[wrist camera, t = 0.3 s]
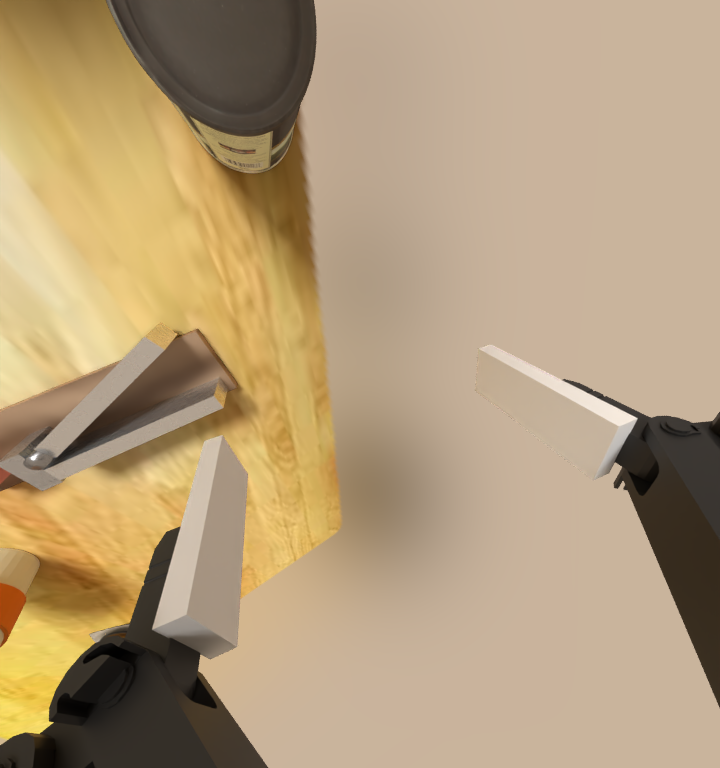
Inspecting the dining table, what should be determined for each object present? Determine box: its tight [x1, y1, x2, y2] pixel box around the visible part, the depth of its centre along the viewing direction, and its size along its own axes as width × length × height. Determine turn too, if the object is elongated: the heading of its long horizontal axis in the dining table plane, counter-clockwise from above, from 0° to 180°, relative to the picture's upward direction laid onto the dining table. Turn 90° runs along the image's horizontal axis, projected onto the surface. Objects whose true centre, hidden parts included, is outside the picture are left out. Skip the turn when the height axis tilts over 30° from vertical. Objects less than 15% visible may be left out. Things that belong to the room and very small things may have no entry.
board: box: [0, 329, 237, 491], centre depth 34 cm, size 9×33×1 cm, turn 108°
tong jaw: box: [23, 323, 178, 470], centre depth 30 cm, size 2×20×6 cm, turn 128°
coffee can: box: [106, 0, 316, 173], centre depth 19 cm, size 10×10×14 cm
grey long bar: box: [0, 377, 228, 491], centre depth 33 cm, size 5×23×5 cm, turn 108°
